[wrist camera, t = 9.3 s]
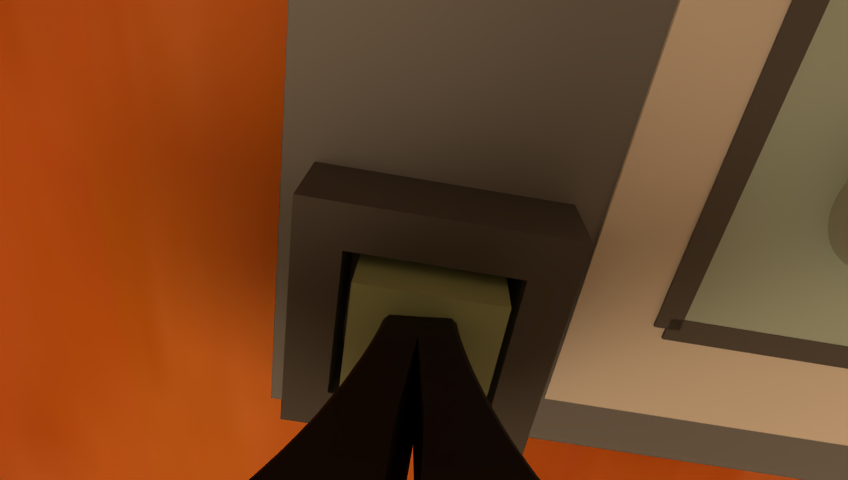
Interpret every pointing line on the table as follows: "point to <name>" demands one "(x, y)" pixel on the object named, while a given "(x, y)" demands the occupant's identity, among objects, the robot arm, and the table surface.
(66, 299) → the table surface
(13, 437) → the table surface
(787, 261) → the colouring board
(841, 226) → the marker
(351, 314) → the button
